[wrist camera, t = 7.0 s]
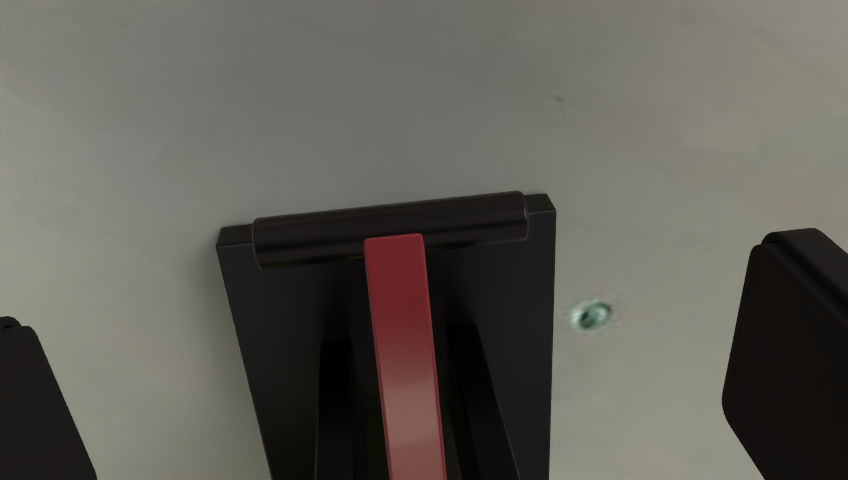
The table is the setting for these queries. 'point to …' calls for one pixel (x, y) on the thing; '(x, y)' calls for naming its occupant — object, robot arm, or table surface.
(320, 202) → the table surface
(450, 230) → the switch lever
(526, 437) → the switch bracket
